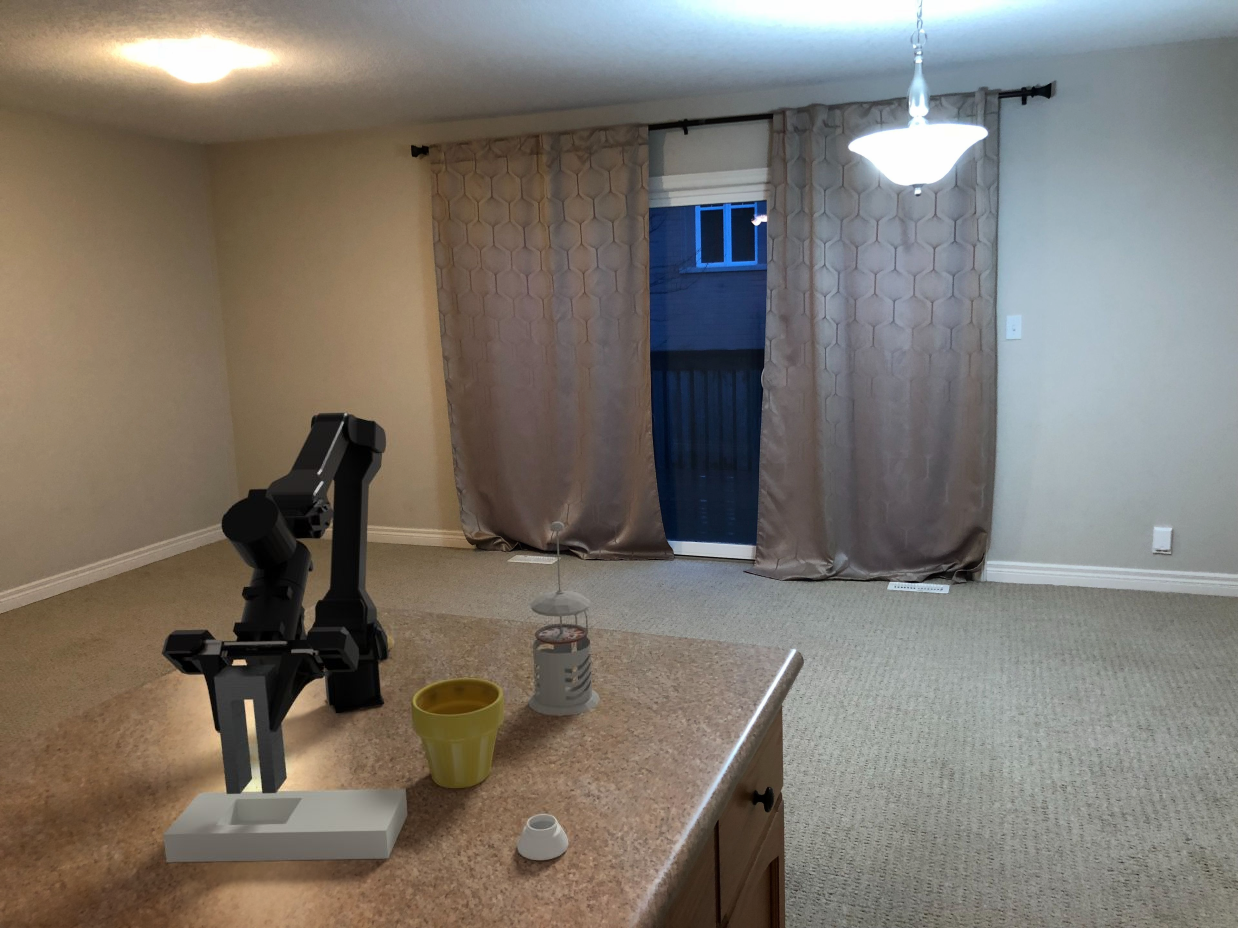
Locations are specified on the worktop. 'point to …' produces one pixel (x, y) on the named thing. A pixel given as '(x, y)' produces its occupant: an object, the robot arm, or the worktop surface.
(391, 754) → the worktop surface
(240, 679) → the clip
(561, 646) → the french press
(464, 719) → the plant pot
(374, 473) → the robot arm
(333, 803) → the white slotted block
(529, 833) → the white jar
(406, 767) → the worktop surface
